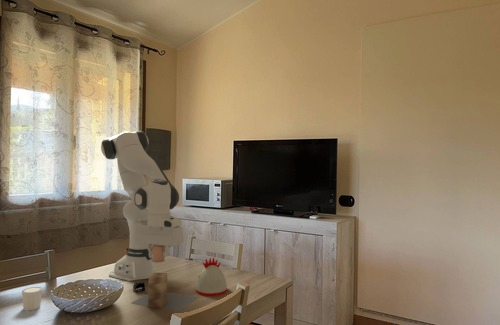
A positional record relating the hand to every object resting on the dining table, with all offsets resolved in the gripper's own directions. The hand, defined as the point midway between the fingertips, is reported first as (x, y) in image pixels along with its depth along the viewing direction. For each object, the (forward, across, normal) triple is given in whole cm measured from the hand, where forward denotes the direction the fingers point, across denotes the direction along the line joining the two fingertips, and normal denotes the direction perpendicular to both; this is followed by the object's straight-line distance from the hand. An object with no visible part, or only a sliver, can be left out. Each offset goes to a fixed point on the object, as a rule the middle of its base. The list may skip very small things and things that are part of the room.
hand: (158, 255), depth 144 cm
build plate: (+21, -16, +11) cm, 29 cm away
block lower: (+20, 0, 0) cm, 20 cm away
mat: (+20, 0, +6) cm, 21 cm away
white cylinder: (+20, -44, -18) cm, 52 cm away
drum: (+2, 0, 0) cm, 2 cm away
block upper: (+14, 0, 0) cm, 14 cm away
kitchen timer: (+20, +13, +23) cm, 33 cm away
